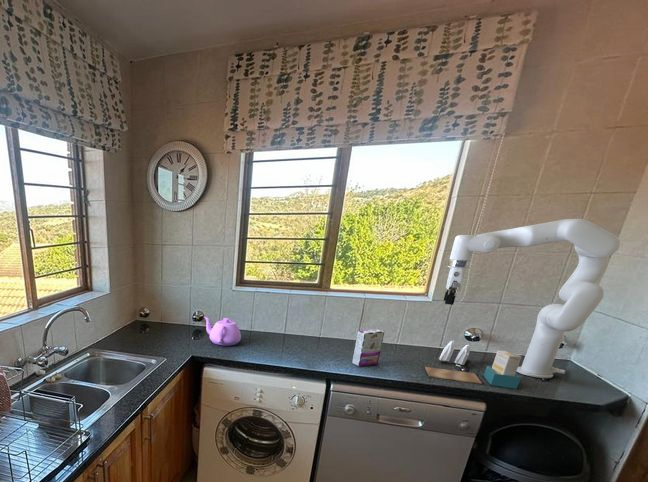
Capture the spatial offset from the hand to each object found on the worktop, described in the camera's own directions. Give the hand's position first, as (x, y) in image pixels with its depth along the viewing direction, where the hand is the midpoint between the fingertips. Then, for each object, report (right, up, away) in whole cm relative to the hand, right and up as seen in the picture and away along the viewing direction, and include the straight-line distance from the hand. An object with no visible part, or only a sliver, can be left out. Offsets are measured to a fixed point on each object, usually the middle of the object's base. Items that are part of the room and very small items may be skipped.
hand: (448, 302), depth 184 cm
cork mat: (-2, -34, -5) cm, 34 cm away
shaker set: (+9, -28, +10) cm, 31 cm away
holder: (+13, -36, -12) cm, 41 cm away
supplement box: (+13, -37, -12) cm, 41 cm away
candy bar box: (-34, -28, +8) cm, 45 cm away
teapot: (-98, -15, +40) cm, 106 cm away
